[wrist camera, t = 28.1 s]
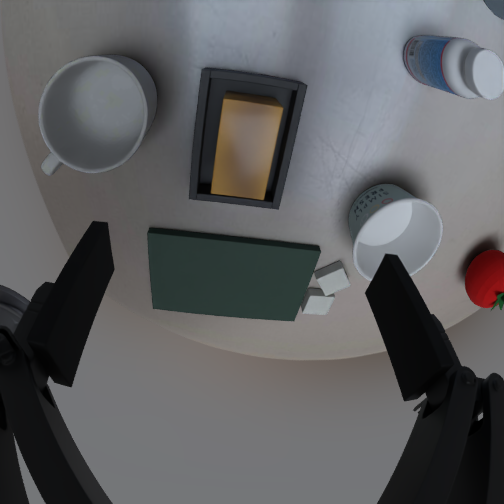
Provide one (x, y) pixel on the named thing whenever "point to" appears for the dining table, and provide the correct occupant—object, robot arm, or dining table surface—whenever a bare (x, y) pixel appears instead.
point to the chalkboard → (228, 274)
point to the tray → (208, 126)
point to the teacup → (96, 113)
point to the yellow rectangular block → (245, 144)
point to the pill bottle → (455, 66)
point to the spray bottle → (496, 7)
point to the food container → (393, 229)
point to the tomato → (486, 279)
